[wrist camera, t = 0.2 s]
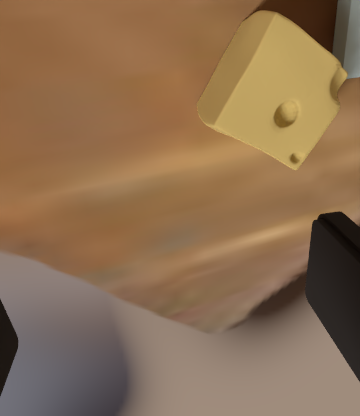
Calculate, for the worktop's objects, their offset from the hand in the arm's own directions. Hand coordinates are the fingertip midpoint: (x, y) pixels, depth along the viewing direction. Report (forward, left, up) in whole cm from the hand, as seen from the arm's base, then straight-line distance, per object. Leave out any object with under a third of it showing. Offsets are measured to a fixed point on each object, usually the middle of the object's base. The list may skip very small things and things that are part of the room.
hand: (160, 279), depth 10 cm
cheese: (0, +13, -31) cm, 34 cm away
